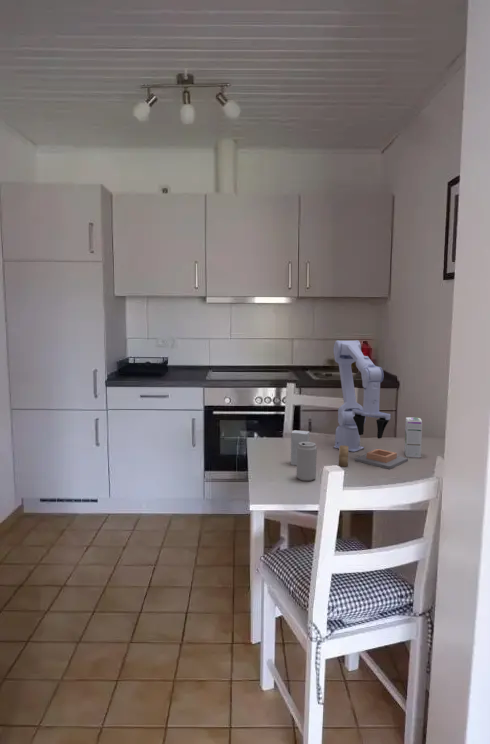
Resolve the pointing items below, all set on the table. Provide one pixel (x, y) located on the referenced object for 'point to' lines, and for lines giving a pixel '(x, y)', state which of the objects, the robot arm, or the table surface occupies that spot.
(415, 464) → the table surface
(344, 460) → the wood peg
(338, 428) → the robot arm
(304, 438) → the skincare box
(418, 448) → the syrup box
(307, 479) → the beverage can
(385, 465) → the collar stand
